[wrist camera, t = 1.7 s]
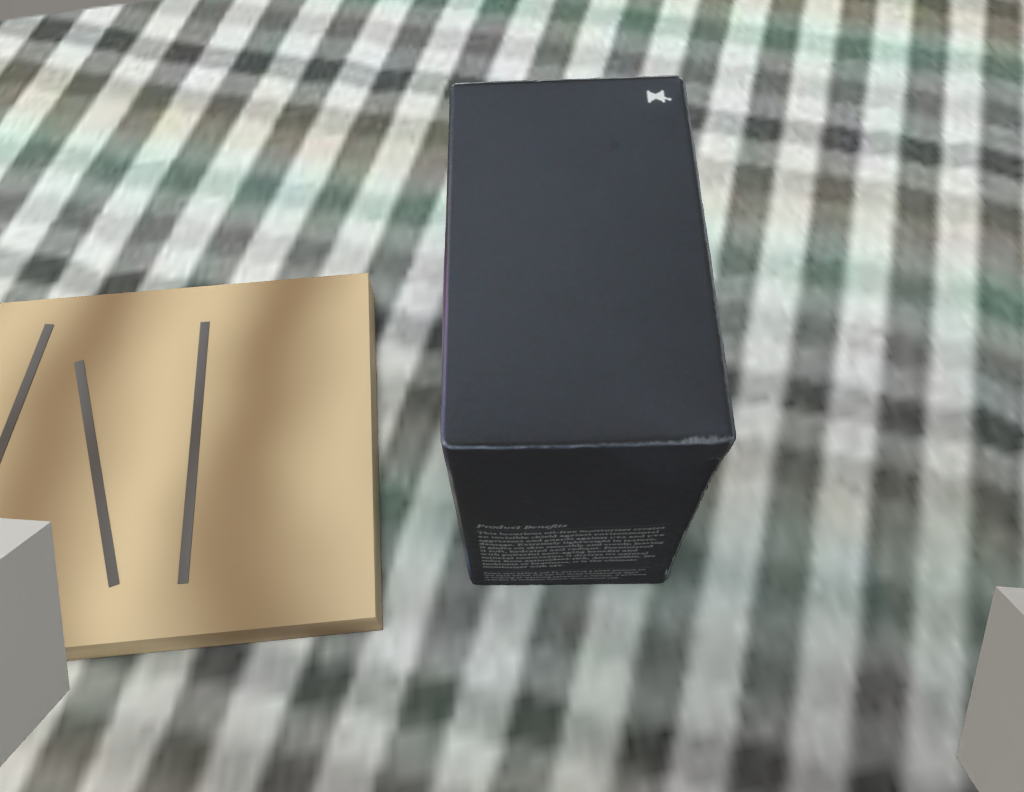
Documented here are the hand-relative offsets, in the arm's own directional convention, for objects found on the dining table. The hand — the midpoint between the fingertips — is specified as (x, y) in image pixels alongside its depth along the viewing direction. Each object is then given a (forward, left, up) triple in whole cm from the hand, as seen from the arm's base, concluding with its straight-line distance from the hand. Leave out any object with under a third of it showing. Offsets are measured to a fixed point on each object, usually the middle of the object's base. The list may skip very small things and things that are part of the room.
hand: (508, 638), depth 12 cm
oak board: (+13, -10, -14) cm, 21 cm away
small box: (-2, -10, -14) cm, 17 cm away
